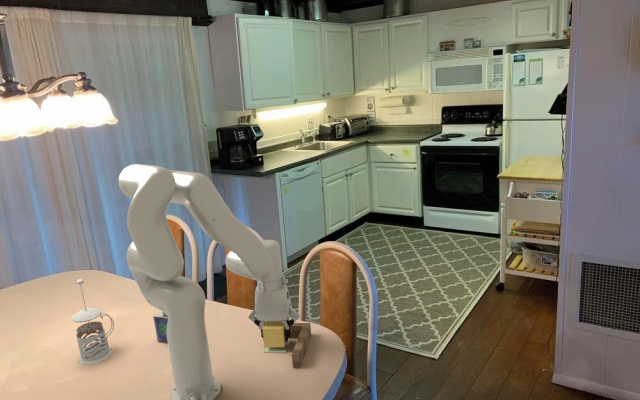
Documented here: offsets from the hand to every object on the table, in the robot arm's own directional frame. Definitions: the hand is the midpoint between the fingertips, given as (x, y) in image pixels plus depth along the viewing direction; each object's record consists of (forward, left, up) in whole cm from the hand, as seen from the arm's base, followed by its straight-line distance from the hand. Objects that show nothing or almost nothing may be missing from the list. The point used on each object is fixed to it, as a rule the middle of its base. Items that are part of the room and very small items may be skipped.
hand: (276, 339), depth 145 cm
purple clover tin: (+20, +29, -3) cm, 35 cm away
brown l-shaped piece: (-3, -2, -3) cm, 4 cm away
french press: (+23, +50, -3) cm, 55 cm away
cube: (0, 0, -1) cm, 1 cm away
